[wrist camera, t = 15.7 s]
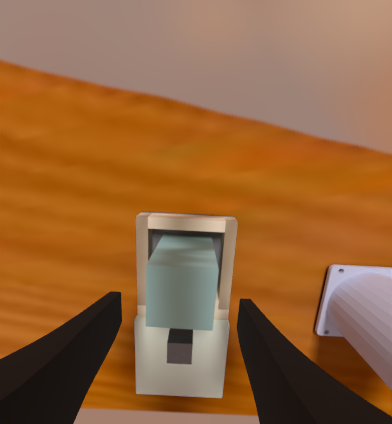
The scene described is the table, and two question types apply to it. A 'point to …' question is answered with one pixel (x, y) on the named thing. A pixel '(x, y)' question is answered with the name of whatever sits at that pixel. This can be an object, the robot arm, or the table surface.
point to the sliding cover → (180, 360)
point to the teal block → (182, 283)
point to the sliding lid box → (188, 225)
